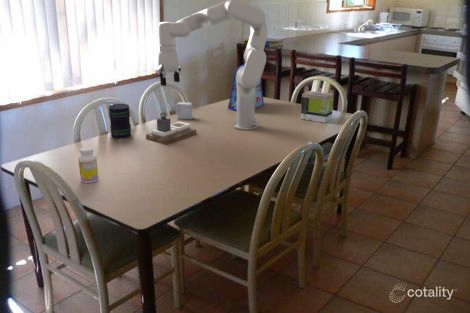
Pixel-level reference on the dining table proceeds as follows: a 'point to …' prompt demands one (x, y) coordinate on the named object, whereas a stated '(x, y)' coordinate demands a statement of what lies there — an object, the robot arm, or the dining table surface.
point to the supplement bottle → (88, 165)
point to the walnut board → (173, 137)
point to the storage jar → (120, 121)
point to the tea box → (317, 106)
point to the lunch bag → (233, 94)
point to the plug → (163, 124)
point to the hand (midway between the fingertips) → (170, 83)
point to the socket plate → (172, 130)
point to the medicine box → (184, 110)
